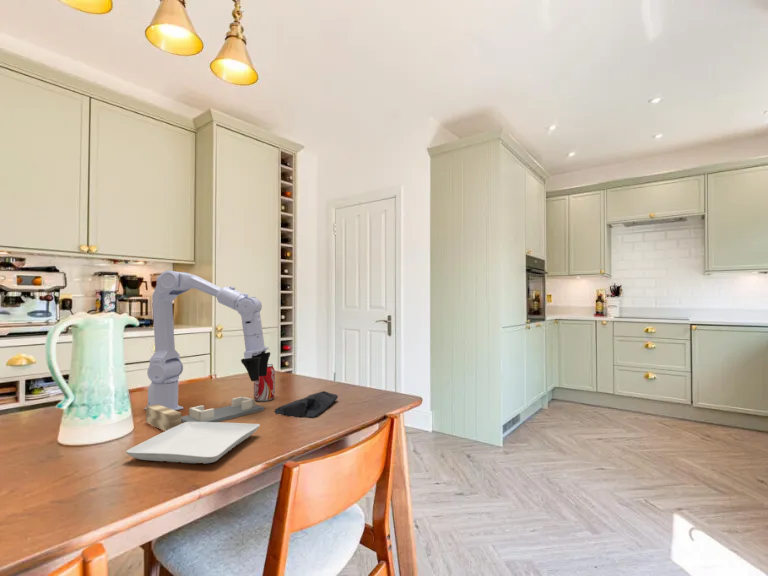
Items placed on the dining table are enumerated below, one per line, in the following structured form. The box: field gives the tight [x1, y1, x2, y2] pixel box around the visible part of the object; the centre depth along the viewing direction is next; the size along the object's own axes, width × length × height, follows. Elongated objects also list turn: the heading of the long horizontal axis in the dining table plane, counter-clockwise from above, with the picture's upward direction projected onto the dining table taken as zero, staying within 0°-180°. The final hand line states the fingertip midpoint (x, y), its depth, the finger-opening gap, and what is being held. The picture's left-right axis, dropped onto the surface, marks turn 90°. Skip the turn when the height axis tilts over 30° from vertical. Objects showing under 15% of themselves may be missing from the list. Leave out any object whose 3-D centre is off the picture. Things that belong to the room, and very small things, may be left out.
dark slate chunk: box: [273, 390, 339, 418], centre depth 128 cm, size 15×22×5 cm
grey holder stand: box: [181, 396, 265, 423], centre depth 119 cm, size 10×22×4 cm, turn 143°
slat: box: [145, 404, 182, 432], centre depth 108 cm, size 14×3×5 cm, turn 53°
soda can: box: [253, 363, 276, 402], centre depth 138 cm, size 7×7×12 cm
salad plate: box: [125, 421, 261, 465], centre depth 93 cm, size 21×21×3 cm
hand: (259, 378), depth 123 cm, fingers open, 7 cm apart
